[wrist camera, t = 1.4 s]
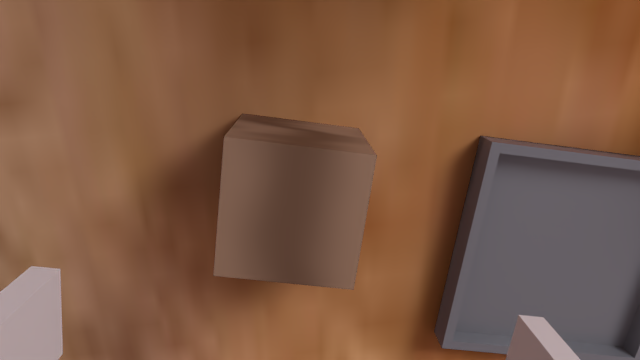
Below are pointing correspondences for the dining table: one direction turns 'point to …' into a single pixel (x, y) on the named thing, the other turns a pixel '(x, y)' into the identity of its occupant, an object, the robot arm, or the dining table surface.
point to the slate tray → (547, 250)
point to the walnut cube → (293, 202)
